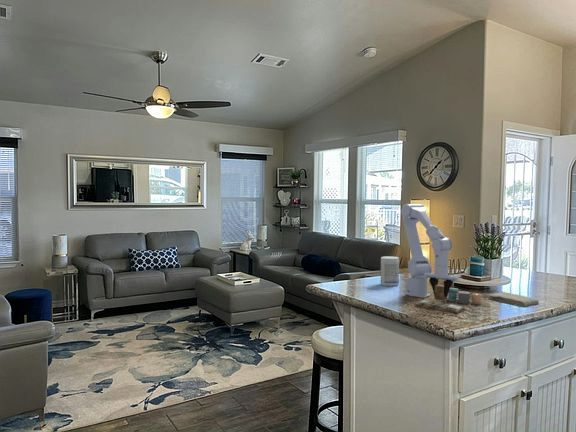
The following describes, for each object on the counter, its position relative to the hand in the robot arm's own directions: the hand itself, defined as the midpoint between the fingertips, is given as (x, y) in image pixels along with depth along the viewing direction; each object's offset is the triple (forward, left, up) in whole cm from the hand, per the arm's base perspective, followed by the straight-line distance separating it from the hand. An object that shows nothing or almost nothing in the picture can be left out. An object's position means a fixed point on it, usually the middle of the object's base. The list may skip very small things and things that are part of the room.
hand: (440, 295), depth 190 cm
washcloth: (+23, +25, -4) cm, 34 cm away
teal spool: (+2, +9, -3) cm, 10 cm away
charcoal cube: (+7, +8, -3) cm, 11 cm away
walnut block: (0, 0, -2) cm, 2 cm away
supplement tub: (-36, +21, -3) cm, 42 cm away
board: (+3, -9, -3) cm, 10 cm away
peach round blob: (+12, +10, -3) cm, 16 cm away
